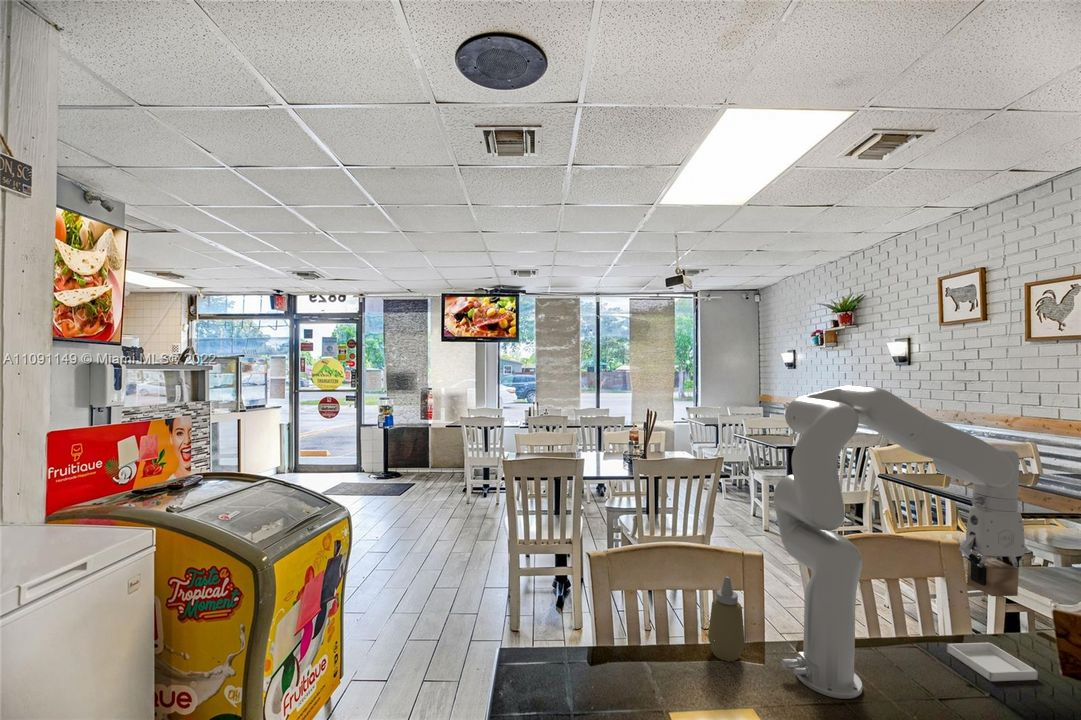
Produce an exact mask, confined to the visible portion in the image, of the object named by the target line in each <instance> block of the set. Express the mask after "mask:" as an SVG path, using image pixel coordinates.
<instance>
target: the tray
mask: <svg viewBox="0 0 1081 720" xmlns="http://www.w3.org/2000/svg"><path fill="white" fill-rule="evenodd" d="M946 652H947V653H948V654H949V655H951V656H953V657H954V658H956V659H957V660H959V661H960V662H962V663H963V664H965V665H966V666H967V667H969V668H970V669H971V670H973V671H975V672H976V673H978V675H979V674H980V675H981V676H982V677H983V678H985V679H986V680H988V681H989V682H1009V681H1011V682H1012V681H1014V682H1015V681H1035V680H1038V678H1039V677H1038V676H1039V675H1038V674H1039V672H1038V670H1036V668H1034V667H1031V666H1030V665H1028V664H1027V663H1025V662H1023V661H1022V660H1020V659H1018V658H1017V657H1014V656H1013V655H1012V654H1010V653H1008V652H1006V651H1005V650H1003V649H1001V648H1000V647H998V646H996V645H995V644H993V643H991V642H967V643H965V642H964V643H963V642H960V643H946Z"/></svg>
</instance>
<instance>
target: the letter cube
mask: <svg viewBox="0 0 1081 720" xmlns="http://www.w3.org/2000/svg"><path fill="white" fill-rule="evenodd" d="M977 558H978V559H979V557H977ZM984 567H985V568H986V585H980V584H978V583H976V582H974V581H972V580H971V578H970V576H971V563H970V562H968V561H967V572H966V573H967V574H966V575H967V577H966V578H967V579H966V580H967V581H966V582H967V583H966V585H969V586H971V587H973V588H975V589H976V590H979V591H981V592H983V593H984V594H986V595H988V596H991V597H1019V596H1018V595H1019V594H1018V593H1019V571H1020V570H1019V567H1013V566H1011V565H1009V564H1006V563H1004V562H1002V561H1001V560H999V559H996V558H995V557H987V560H986V562H985V565H984Z"/></svg>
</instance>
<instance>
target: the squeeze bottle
mask: <svg viewBox="0 0 1081 720" xmlns="http://www.w3.org/2000/svg"><path fill="white" fill-rule="evenodd" d="M721 586H722V587H721V588H720V589H717V590H716V592H715V593H716V597H715V599H713V600H712V602H711V610H710V617H709V626H708V631H707V632H708V633H707V638H708V641H709V645H710V644H712V645H710V649H711V651H713V652H712V654H713V655H714V657H716V658H718V659H720V660H721V661H724V660H725V662H730V661H733V662H735V661H734V660H737V659H738V658H739V659H740V657H741V654H742V653H743V650H744V648H745V644H746V640H745V627H744V617H743V616H744V615H743V606H742V605H741V604H740V602H739V601H738V600H739V595H738V593H737V592H735V591H734V589H733V586H732V581H731V577H729V576H724V579H723V583H722V585H721ZM714 640H715V641H714ZM731 643H736V644H731ZM739 659H738V660H739ZM738 660H737V661H738Z"/></svg>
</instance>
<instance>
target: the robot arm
mask: <svg viewBox="0 0 1081 720" xmlns="http://www.w3.org/2000/svg"><path fill="white" fill-rule="evenodd" d="M784 417H785V418H784V419H785V421H786V424H787V426H788V427H789V428H790V430H792V431H793V432H796V433H797V434H800V435H802V436H801V437H800V438H799V440H798V441H797V443H796V445H795V447H794V449H793V451H792V454H791V468H792V469H791V470H792V474H788V475H786V476H784V477H782V478H781V479H780V480H779V481H778V483H777V484H776V486H775V489H774V492H773V504H774V510H775V516H776V519H777V524H778V530H779V534H780V539H781V542H782V545H783V547H784V549H785V551H786V552H787V554H788V555H789V556H791V557H792V558H793V559H794V560H796V561H797V562H798V563H801V564H802V565H804V566H805V567H806V568H808V569H809V570H811V577H810V579H809V580H808V581H807V584H806V586H805V590H804V593H803V594H804V596H803V597H804V600H803V602H804V607H803V608H804V610H803V614H804V615H803V645H802V647H803V649H802V650H803V651H798V652H797V655H798V656H797V657H794V658H793V659H792V658H783V659H780V664H781V665H780V666H781V667H782V669H783V670H793V674H794V676H796V677H797V678H798V680H799V681H800V682H801V683H803V684H804V685H805V686H806V687H808V688H809V689H811V690H813V691H814V692H817V693H819V694H821V695H824V696H828V697H831V698H834V699H843V700H845V699H850V700H851V699H855V698H858V697H859V696H860V695H861V694H862V693H863V682H862V680H861V678H860V677H859V675H858V674H856V672H855V652H856V651H855V647H856V646H855V645H856V642H855V641H856V637H855V636H856V604H857V603H856V601H857V599H856V598H857V590H858V585H859V581H860V577H861V574H862V573H861V572H862V570H863V558H862V555H861V551H859V549H858V547H857V546H856V545H855V544H854V543H853V542H851V540H849V539H848V538H846V537H844V536H843V535H841V534H838V533H837V532H835V531H836V530H838V529H839V528H840V527H841V526H842V525H843V523H844V521H845V517H846V512H845V503H844V497H843V493H842V488H841V484H840V478H839V472H838V471H839V470H838V459H839V457H840V453H841V451H842V450H843V448H844V447H845V446H846V445H847V443H848V442H850V440H852V438H853V437H854V435H855V434H856V432H857V430H858V428H859V425H863V426H865V427H868V428H870V429H872V430H873V431H875V432H876V433H878V434H880V435H881V436H883V437H885V438H886V439H888V440H889V441H891V442H893V443H894V444H896V445H897V446H899V447H901V448H902V449H904V450H905V451H909V452H911V453H914V454H917V455H919V456H921V457H925V458H929V459H932V462H933V465H934V467H935V469H936V470H937V471H938V472H939V473H941V474H943V475H944V476H946V477H949V478H952V479H956V480H959V481H964V482H968V483H972V484H973V485H972V497H971V498H970V502H971V503H972V506H970V508H969V512H968V515H967V520H966V521H967V522H966V530H965V540H964V541H963V542H962V543H961V545H960V546H958V550H959V552H961V554H963V555H964V557H965V558H966V559H967V563H968V562H970V563H971V576H970V578H971V580H972V581H974V582H976V583H978V584H980V585H986V568H985V567H984V565H985V562H986V560H987V558H1000V561H1001V562H1004V563H1006V564H1009V565H1011V566H1013V567H1016V568H1018V565H1019V563H1018V562H1019V561H1020V560H1021V559H1022V557H1023V556H1024V555H1025V554H1026V553H1027V552H1028V551H1029V549H1028V548H1027V546H1026V544H1025V542H1026V541H1025V527H1024V520H1023V517H1022V513H1021V511H1020V510H1019V509H1018V508H1019V507H1018V506H1019V482H1020V481H1019V480H1020V479H1019V478H1020V476H1019V475H1020V455H1019V453H1018V452H1017V451H1016V450H1014V449H1012V448H1006V447H1001V446H993V445H991V444H990V443H988V442H986V441H985V440H982V439H980V438H978V437H976V436H974V435H973V434H970V433H967V432H966V431H965V432H964V430H963V431H962V430H960V429H958V428H955V427H953V426H952V425H949V424H946V423H945V422H942V421H939V420H937V419H935V418H932V417H931V416H928V415H927V414H925V413H924V412H922V411H921V410H919V409H917V408H916V407H914V406H913V405H911V404H909V403H908V402H906V401H905V400H904V399H902V398H900V397H899V396H897V395H895V394H893V393H892V392H890V391H888V390H887V389H884V388H880V387H876V386H875V387H872V386H863V385H844V386H839V387H833V388H830V389H825V390H822V391H818V392H813V393H810V394H806V395H802V396H798V397H797V398H795V399H793V400H792V401H791V402H790V403H789V404H788V405H787V407H786V409H785V413H784ZM834 530H835V531H834ZM978 555H980V556H979V557H978ZM978 558H979V559H978Z"/></svg>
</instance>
